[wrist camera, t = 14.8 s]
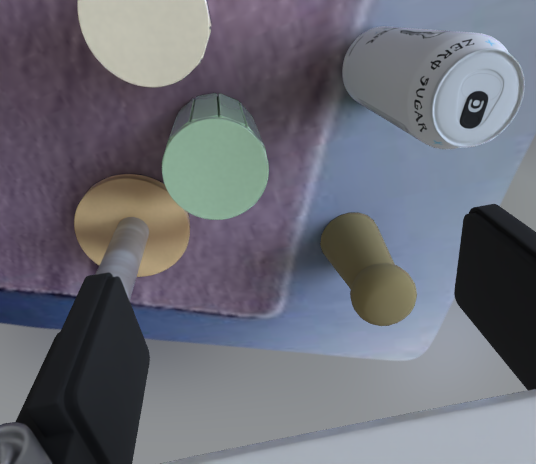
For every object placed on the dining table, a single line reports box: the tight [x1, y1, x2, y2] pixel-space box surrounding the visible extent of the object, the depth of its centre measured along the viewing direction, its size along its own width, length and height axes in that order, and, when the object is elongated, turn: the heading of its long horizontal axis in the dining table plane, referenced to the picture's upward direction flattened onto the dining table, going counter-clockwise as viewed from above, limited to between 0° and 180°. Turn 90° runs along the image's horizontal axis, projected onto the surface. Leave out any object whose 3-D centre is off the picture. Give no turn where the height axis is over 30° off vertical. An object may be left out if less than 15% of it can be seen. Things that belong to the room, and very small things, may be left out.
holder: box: [74, 174, 190, 301], centre depth 32 cm, size 10×10×14 cm
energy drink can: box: [342, 26, 525, 149], centre depth 27 cm, size 6×6×15 cm
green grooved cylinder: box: [161, 93, 269, 220], centre depth 31 cm, size 7×7×9 cm
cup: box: [77, 0, 211, 87], centre depth 26 cm, size 7×7×9 cm
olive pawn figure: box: [320, 213, 417, 326], centre depth 36 cm, size 6×6×11 cm
